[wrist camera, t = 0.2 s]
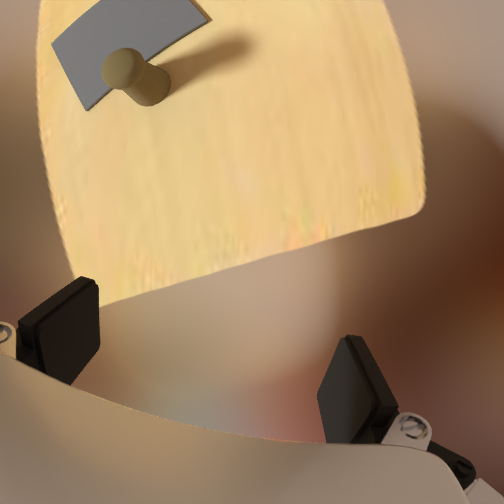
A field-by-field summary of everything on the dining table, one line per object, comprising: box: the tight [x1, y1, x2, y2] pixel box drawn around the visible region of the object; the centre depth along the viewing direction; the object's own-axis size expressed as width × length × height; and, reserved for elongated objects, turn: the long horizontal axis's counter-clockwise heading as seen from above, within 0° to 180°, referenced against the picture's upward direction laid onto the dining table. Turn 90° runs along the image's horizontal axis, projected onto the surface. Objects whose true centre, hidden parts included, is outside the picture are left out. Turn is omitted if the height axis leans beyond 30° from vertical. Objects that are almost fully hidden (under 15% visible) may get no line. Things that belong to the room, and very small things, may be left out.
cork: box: [101, 48, 171, 106], centre depth 30 cm, size 6×6×11 cm
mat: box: [51, 0, 208, 111], centre depth 32 cm, size 22×18×1 cm
